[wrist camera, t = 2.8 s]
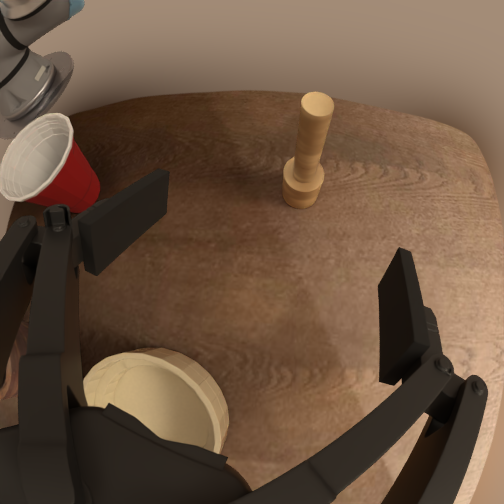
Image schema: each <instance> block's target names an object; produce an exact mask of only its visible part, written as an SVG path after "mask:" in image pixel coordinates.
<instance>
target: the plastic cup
mask: <svg viewBox="0 0 504 504" xmlns="http://www.w3.org/2000/svg"><path fill="white" fill-rule="evenodd" d="M73 132H74V131H73V128H72V125H71V123H70V120H69V118H68V117H66V116H64V115H62V114H60V113H51V114H45V115H43V116H41V117H39V118H37V119H35V120H33V121H32V122H30V123H29V124H28V125H27V126H26V127H25V128H23V129H22V130H21V131H20V132H19V133H18V134H17V136H16V137H15V138H14V140H13V141H12V142H11V144H10V145H9V147H8V148H7V151H6V153H5V155H4V157H3V159H2V162H1V165H0V192H1V193H2V194H3V195H4V197H5V198H6V199H7V200H11V201H19V202H23V201H26V202H31V203H35V204H39V205H43V206H46V207H49V206H52V205H55V204H65V205H67V206H69V208H70V212H72V213H81V212H83V211H84V210H86V209H87V208H89V207H91V206H92V205H93V204H94V203H95V202H96V200H97V199H98V196H99V192H100V182H99V180H98V178H97V175H96V174H95V172H94V171H93V169H92V168H91V167H90V165H89V163H88V161H87V159H86V158H85V156H84V155H83V153H82V152H81V150H80V149H79V147H78V145H77V144H76V142H75V140H74V138H73Z"/></svg>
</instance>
